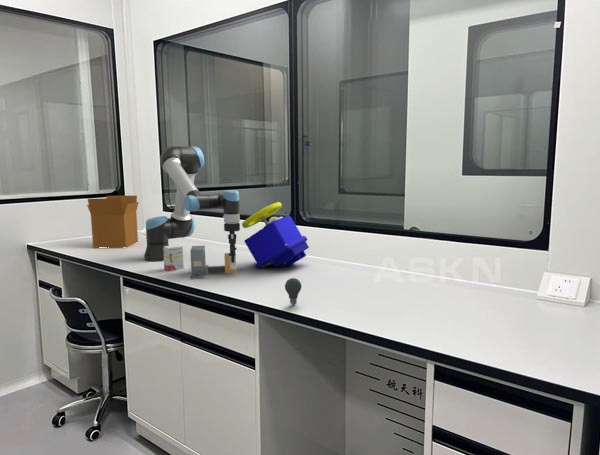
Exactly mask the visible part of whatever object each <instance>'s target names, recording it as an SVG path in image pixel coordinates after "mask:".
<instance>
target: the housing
mask: <svg viewBox="0 0 600 455" xmlns="http://www.w3.org/2000/svg"><path fill="white" fill-rule="evenodd" d="M189 252H190V270H191V272H190V273H191V274H190V277H189V278H190V280H194V279H195V280H199V279H202V280H203V279H205V276H206V274H205V266H204V265H207V264H206V245H192V246H191V248H190V251H189Z"/></svg>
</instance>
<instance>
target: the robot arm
mask: <svg viewBox="0 0 600 455" xmlns="http://www.w3.org/2000/svg"><path fill="white" fill-rule="evenodd" d="M159 163H160V166H161V169H162V170H163V172H165V173H166V174H168V175H169V177H170V178H171V180H172V182H173V183H174V184H175V187H176V192H175V193H176V194H175V195H176V196H175V203H174V208H173V209H174V211H173V212H171V214H170V217H169V218H168V216H166V215H165V216H164V215H163V216H162V215H161V216H154V217H151V218H148V219H147V220H146V221H145V235H146V238H145V239H146V247H145V251H144V254H143V255H144V256H143V257H144V258H143V259H144V261H146V262H147V261H148V262H164V250H163V247H164V246H170V245H169V240H171V239H180V238H181V239H182V238H187V237H191V236H192V235H193V233H194V232H195V228H196V227H195V226H196V225H195V219H194V218H193V215H192V214H190V213H191V212H198V211H199V212H200V211H211V210H212V211H213V210H223V215H222V218H223V222H224V224H223V231H224V232H228V233H229V234H227V239H228V244H229V253H230V254H229V256H230V269H236V270H237V263H236V262H237V257H236V256H237V253H236V250H237V248H238V247H236V243H237V234H236V232H239V231H240V230H241V223H240V220H241V218H240V217H241V216H240V193H239V191H238V190H233V189H231V190H230V189H229V190H224V191H223V192H222V193H220V192H218V193H212V194H211V193H209V194H208V193H207V194H201V192H200V190H199V189H198V188H197V187H196V185H195V177H196V175H198V174H199V169H202V168H203V167H204V165H205V156H204V154H203V150H201V148H199V147H197V146H192V145H189V146H187V145H185V146H184V145H183V146H179V145H177V146H176V145H172V146H168V147H166V148H165V149H164V150H163V151H162V153H161V154H160V158H159Z"/></svg>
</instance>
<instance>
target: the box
mask: <svg viewBox="0 0 600 455" xmlns="http://www.w3.org/2000/svg"><path fill="white" fill-rule="evenodd" d="M137 199H138V195H106V196H105V197H104V198H87V203H88V204H86V206H87V208H88V211H89V213H90V222H91V225H90V226H91V236H92V248H93V249H100V248H99V247H107V248H106V249H124V248H123V247H127V248H129V247H131V246H133V245H132V244H134V243H136V242H138V243H139V237H138V236H139V234H138V233H139V232H138V219H137V218H138V217H137V209H138V206H139V204H140V202H139V201H138V200H137ZM136 244H137V243H136ZM130 245H131V246H130ZM134 245H135V244H134ZM128 246H129V247H128ZM108 247H109V248H108Z"/></svg>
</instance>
